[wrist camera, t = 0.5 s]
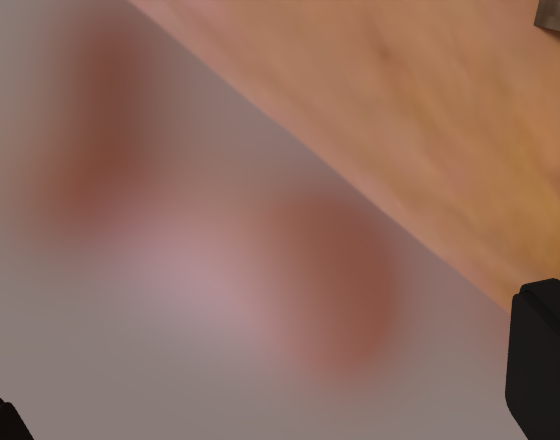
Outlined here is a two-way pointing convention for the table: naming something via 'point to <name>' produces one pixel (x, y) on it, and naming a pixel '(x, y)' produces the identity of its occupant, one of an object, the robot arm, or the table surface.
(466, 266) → the table surface
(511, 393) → the robot arm
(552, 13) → the box
